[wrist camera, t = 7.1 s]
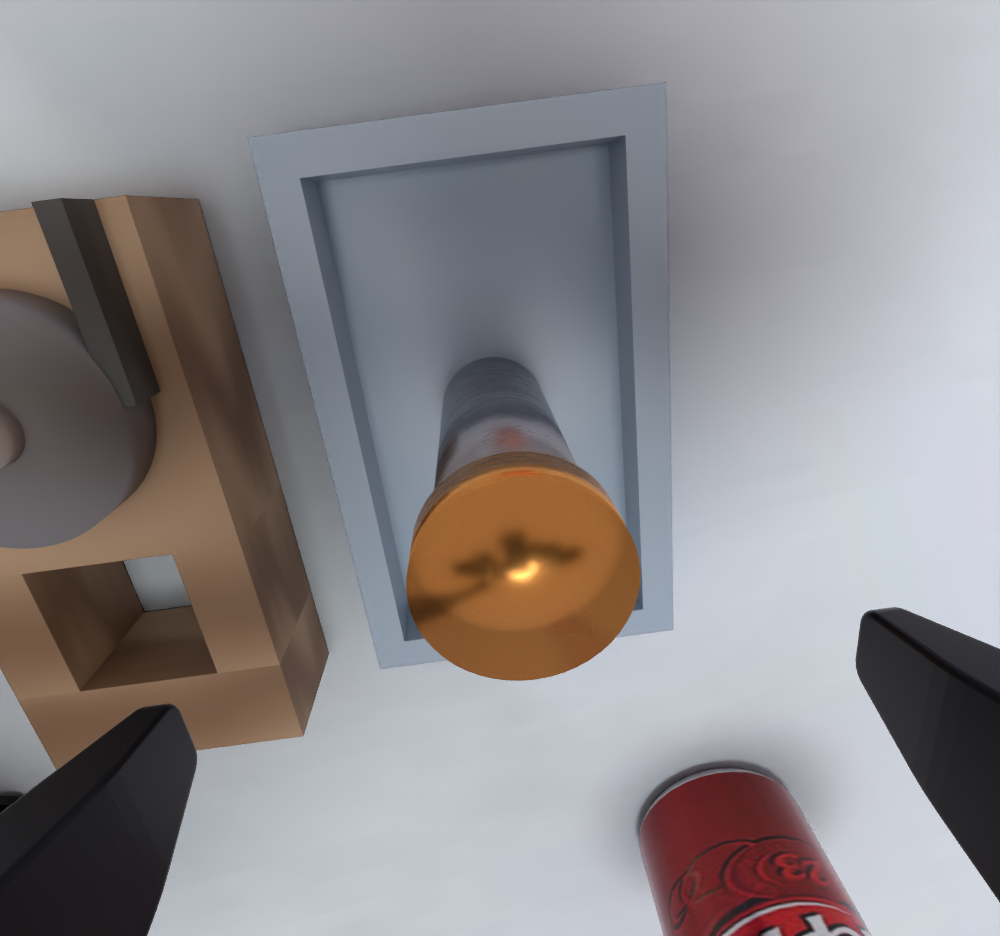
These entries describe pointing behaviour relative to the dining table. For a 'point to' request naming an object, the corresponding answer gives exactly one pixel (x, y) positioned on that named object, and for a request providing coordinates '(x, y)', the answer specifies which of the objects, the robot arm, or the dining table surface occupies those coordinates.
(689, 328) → the dining table surface
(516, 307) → the tray
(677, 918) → the soda can
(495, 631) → the pin
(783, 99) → the dining table surface
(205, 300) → the tensioner block
